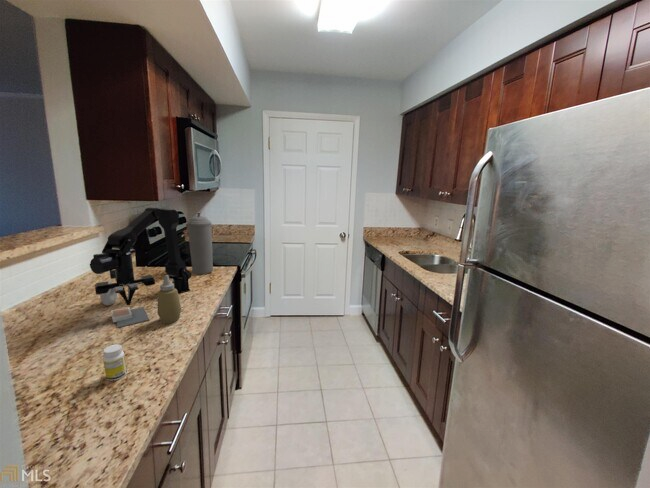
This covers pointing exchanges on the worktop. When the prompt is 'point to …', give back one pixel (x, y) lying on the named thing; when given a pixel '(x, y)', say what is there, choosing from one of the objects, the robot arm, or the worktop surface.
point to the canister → (200, 244)
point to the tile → (121, 314)
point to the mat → (134, 318)
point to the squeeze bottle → (168, 302)
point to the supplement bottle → (114, 362)
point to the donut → (108, 296)
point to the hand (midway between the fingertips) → (128, 304)
